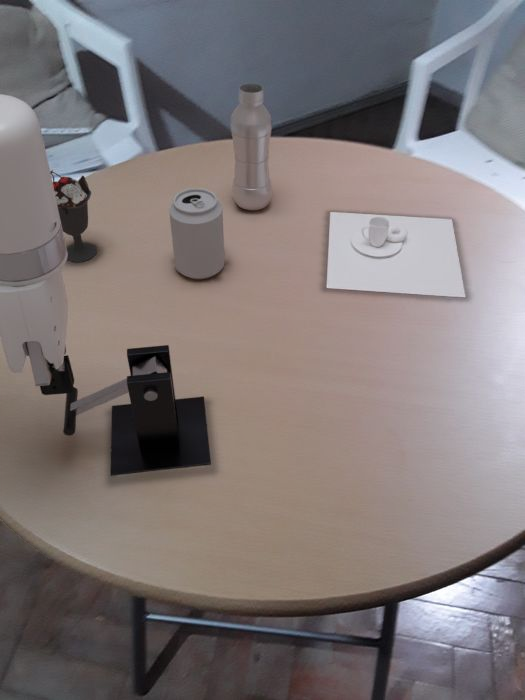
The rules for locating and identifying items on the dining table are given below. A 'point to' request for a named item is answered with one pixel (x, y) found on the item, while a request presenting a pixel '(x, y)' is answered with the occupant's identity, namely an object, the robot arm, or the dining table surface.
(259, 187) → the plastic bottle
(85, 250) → the sundae
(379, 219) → the teacup and saucer
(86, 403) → the lever handle
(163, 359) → the black lever stand
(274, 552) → the dining table surface
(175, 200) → the can
